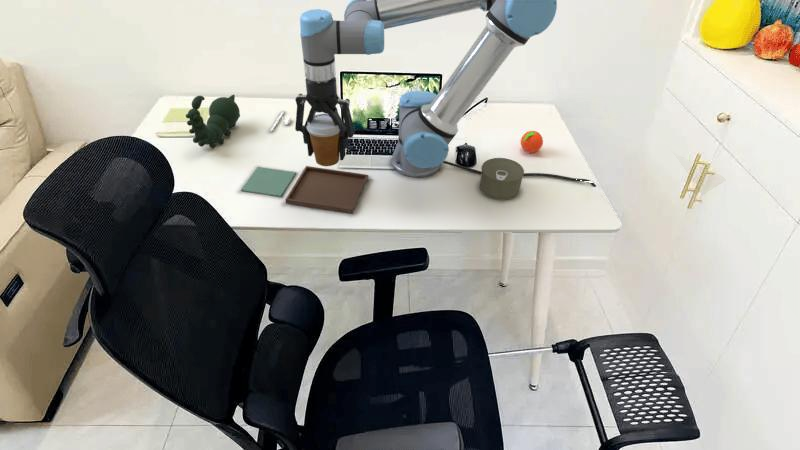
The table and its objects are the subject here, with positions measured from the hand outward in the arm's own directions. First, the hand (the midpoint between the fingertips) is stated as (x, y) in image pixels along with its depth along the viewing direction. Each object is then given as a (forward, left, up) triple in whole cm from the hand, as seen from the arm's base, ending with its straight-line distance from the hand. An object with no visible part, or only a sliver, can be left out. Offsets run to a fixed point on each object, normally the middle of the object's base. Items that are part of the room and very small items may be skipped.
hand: (327, 155), depth 147 cm
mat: (+18, 0, -12) cm, 22 cm away
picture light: (+27, -34, -12) cm, 45 cm away
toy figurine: (+43, -20, -12) cm, 49 cm away
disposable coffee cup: (0, 0, -2) cm, 2 cm away
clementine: (-56, -36, -12) cm, 67 cm away
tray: (0, 0, -12) cm, 12 cm away
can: (-48, -13, -12) cm, 51 cm away
